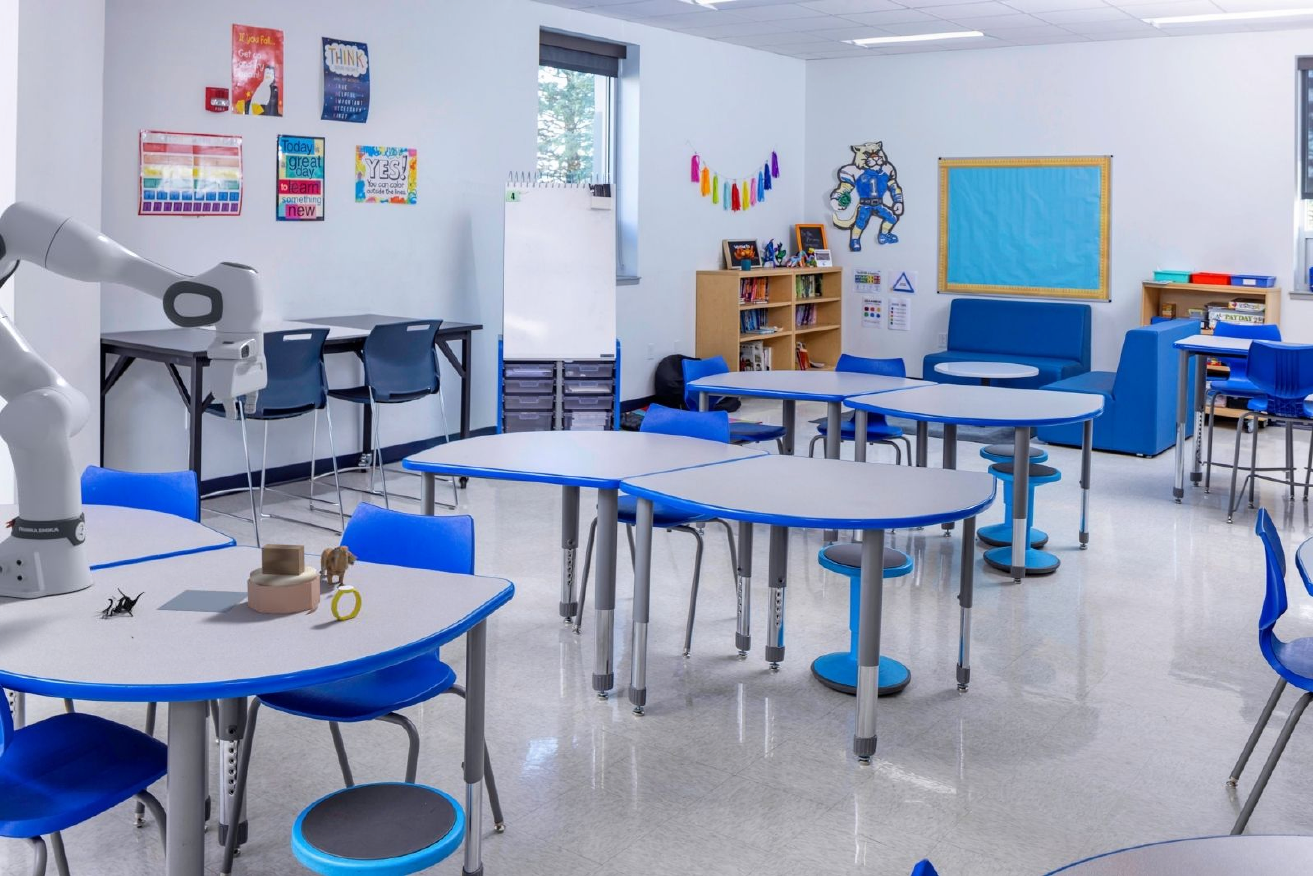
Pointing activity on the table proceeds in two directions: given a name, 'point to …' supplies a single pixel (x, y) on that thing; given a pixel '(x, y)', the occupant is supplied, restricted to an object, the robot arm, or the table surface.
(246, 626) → the table surface
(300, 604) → the octagonal planter
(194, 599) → the mat
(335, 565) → the lion figurine
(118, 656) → the table surface
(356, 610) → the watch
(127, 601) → the creature
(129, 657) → the table surface
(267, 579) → the lid
